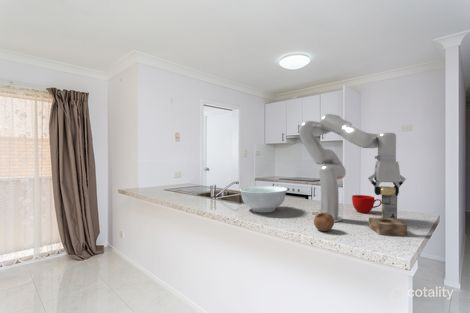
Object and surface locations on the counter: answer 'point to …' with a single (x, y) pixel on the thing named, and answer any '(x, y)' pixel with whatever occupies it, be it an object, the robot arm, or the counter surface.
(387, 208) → the coffee box
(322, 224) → the onion
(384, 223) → the block
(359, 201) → the ceramic cup
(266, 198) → the bowl
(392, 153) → the robot arm
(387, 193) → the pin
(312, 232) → the counter surface
